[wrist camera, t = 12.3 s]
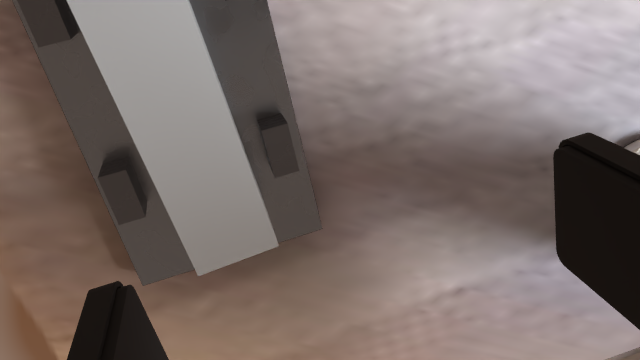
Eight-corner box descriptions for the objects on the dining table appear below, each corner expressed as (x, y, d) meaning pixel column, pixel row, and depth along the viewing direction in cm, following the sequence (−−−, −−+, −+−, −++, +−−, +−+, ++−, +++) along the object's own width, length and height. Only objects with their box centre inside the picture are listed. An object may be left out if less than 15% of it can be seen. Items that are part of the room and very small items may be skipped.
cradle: (214, -199, 25) (219, -219, 22) (316, 218, 36) (330, 244, 33) (-45, -147, 24) (-78, -161, 21) (144, 272, 34) (141, 305, 31)
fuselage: (145, -118, 25) (131, -145, 17) (266, 209, 33) (293, 287, 26) (51, -90, 24) (-6, -106, 17) (198, 234, 33) (205, 321, 25)
